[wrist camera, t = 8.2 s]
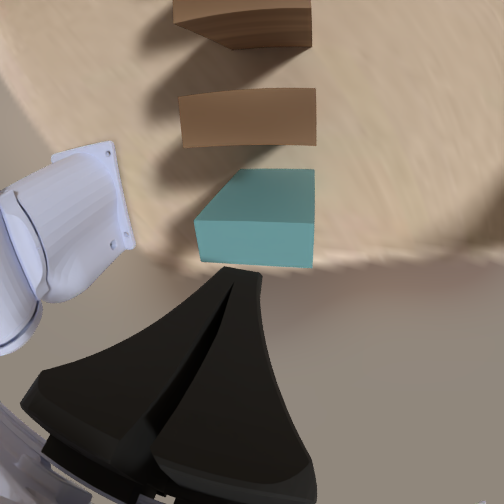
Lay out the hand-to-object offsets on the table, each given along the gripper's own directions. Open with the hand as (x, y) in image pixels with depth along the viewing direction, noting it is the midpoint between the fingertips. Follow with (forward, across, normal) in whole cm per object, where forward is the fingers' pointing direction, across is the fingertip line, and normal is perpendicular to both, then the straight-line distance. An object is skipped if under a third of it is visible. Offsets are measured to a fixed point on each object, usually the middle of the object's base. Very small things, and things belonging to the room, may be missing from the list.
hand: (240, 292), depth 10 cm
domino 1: (+10, +1, -10) cm, 15 cm away
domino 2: (+10, +1, -6) cm, 12 cm away
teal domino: (+10, 0, -1) cm, 10 cm away
